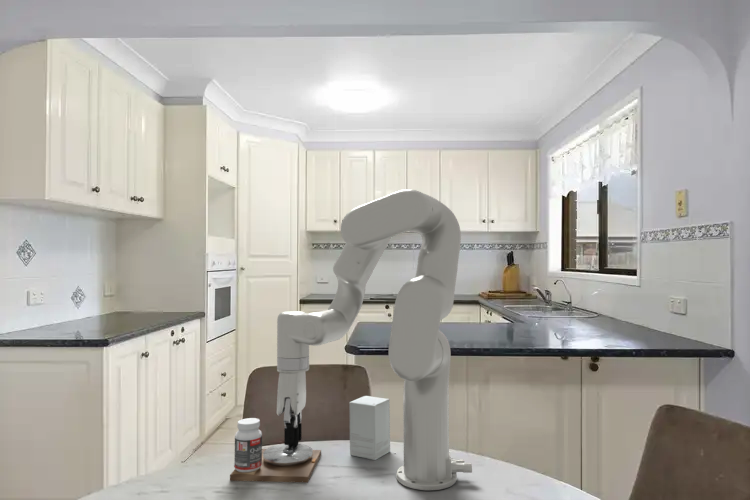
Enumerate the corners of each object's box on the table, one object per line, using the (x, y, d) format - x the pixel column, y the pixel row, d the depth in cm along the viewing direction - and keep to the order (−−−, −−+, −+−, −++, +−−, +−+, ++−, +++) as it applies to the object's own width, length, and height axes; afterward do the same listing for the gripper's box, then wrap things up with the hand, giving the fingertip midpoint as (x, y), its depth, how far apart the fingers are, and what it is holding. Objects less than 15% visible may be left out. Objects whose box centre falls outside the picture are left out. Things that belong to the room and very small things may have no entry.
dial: (317, 447, 119) (317, 420, 120) (306, 466, 108) (306, 436, 108) (271, 446, 120) (271, 419, 120) (256, 464, 109) (256, 434, 109)
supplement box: (391, 451, 122) (390, 398, 122) (374, 461, 116) (374, 405, 116) (365, 445, 126) (365, 394, 126) (348, 455, 119) (348, 401, 120)
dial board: (321, 455, 119) (321, 448, 120) (307, 482, 104) (307, 474, 104) (253, 453, 121) (253, 446, 121) (229, 480, 105) (229, 472, 105)
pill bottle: (254, 474, 104) (254, 425, 105) (229, 472, 106) (229, 424, 106) (266, 463, 110) (266, 417, 110) (242, 461, 111) (242, 416, 112)
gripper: (286, 357, 128) (286, 431, 127) (267, 370, 112) (267, 454, 111) (315, 358, 127) (315, 432, 126) (300, 370, 111) (300, 455, 110)
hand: (293, 441), depth 119 cm, fingers closed on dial, 2 cm apart
